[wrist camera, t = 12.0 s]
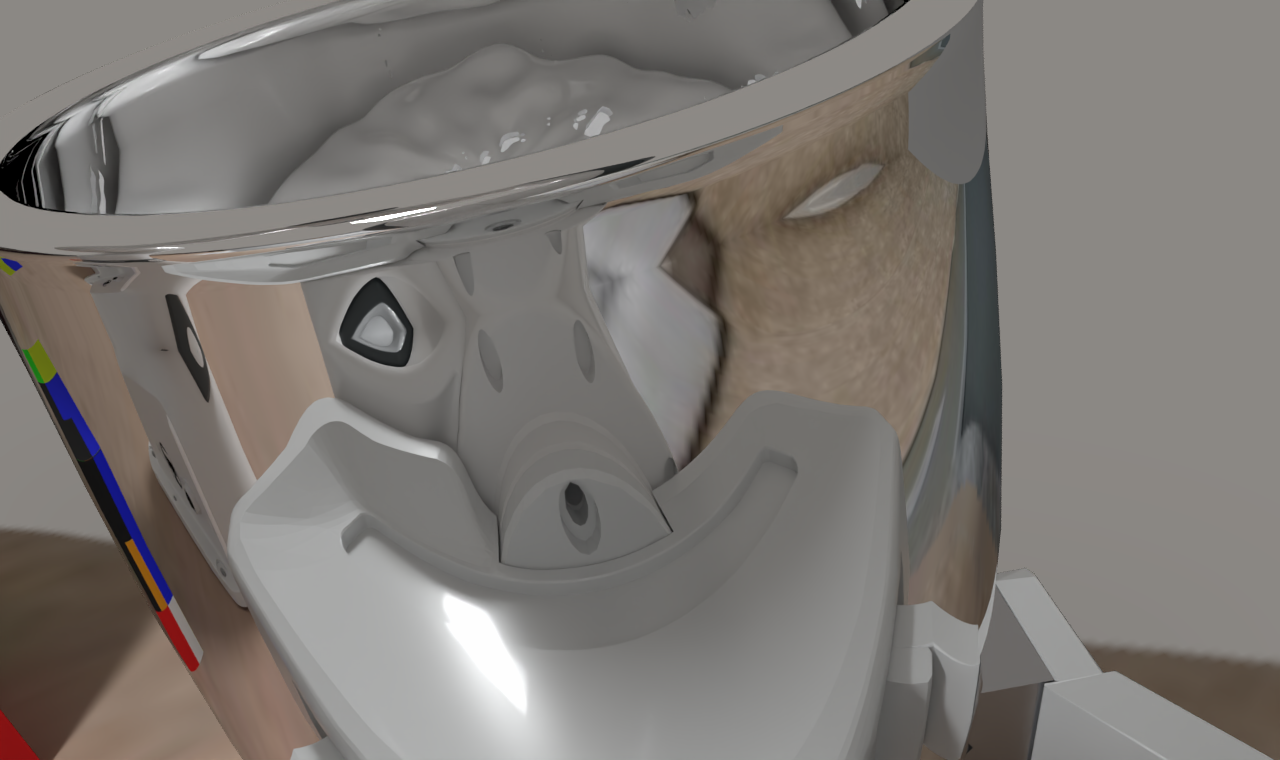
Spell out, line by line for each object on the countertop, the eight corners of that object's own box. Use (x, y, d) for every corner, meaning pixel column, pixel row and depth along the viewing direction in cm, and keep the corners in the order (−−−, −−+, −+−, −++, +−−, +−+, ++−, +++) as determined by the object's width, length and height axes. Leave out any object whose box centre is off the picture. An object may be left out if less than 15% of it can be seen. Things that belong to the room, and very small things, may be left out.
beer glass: (568, 1449, 11) (-495, 482, 3) (482, 893, 17) (52, 46, 9) (1081, 1194, 12) (1390, -47, 4) (834, 754, 18) (748, -117, 10)
